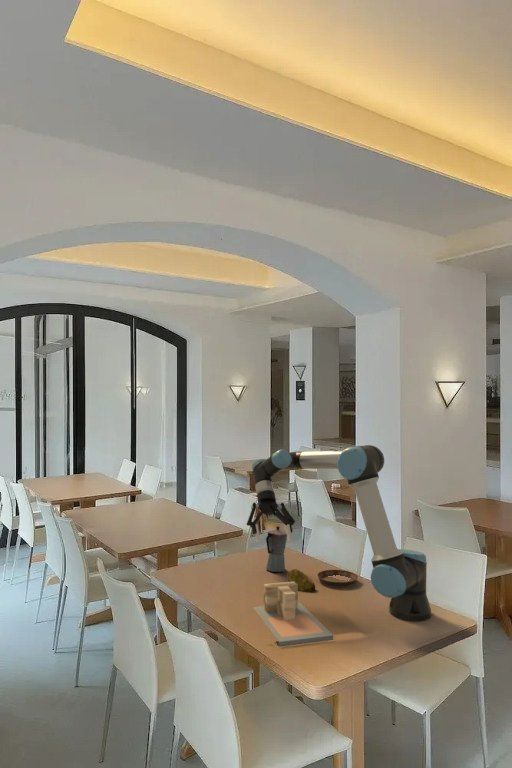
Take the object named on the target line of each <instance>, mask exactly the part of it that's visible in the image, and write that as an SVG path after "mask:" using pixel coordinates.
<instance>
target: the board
mask: <svg viewBox="0 0 512 768" xmlns="http://www.w3.org/2000/svg"><path fill="white" fill-rule="evenodd" d="M263 608H264V605H260V606H252V609H253V610H254V611H255V612H256V613H257V615H258V616H259V618H260V620H262V622H263V623H264V624H265V626H266V627H267V628H268V629H269V631H270V632H271V634H272V635H273V636H274V638H276V641H275V644H277V646H278V647H286V646H287V647H288V646H295V645H303V644H312V643H320V642H327V641H333V640H334V634H332V632H331V631H330V630H328V628H326V627H325V625H324V624H323V623H321V622H320V620H318V619H317V617H315V616H314V615H313V614H312V612H311V611H310V610H308V609H307V607H306V606H304V605H303V604H302V603H301V602H299V601H298V610H295V619H291V620H284V619H283V618H282V617H281V615H280V614H279V613H278V612H269V613H267V612H266V611H265V610H264V609H263Z"/></svg>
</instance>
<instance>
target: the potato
mask: <svg viewBox="0 0 512 768" xmlns="http://www.w3.org/2000/svg"><path fill="white" fill-rule="evenodd" d="M286 579H287V580H286V581H287V582H295V583H296V584H297V585H298V591H301V592H306V593H307V592H308V593H309V592H310V593H312V592H315V591H316V584H315V582H314V581H313V580H312V579H311V578H310V577H309V576H308V575H307V574H305V573H304V572H303V571H302V570H300V569H297V568H295V569H292V570H289V571H288V572H287V574H286Z"/></svg>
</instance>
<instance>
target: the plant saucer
mask: <svg viewBox="0 0 512 768" xmlns="http://www.w3.org/2000/svg"><path fill="white" fill-rule="evenodd" d="M333 575H335V576H336V575H340V576H345V577H348V578H351V579H350V580H349V581H348V580H347V581H345V580H339V579H336V578H333V577H328V576H333ZM316 576H317V578H318V580H319V581H320V582H321V583H322V584H324V585H325V586H329V587H333V588H347V587H351V586H353V585H354V584H355V583H356V582H357V580H358V578H359V576H358V574H357V573H354V572H352V571H349V570H343V569H326V570H321V571H319V572H318V573H317V574H316Z"/></svg>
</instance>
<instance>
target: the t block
mask: <svg viewBox="0 0 512 768" xmlns="http://www.w3.org/2000/svg"><path fill="white" fill-rule="evenodd" d="M298 597H299V590H298V585H297V584H296V583H295V582H288V581H285V582H274V583H264V584H263V606H264V608H263V609H264V610H265V611H266V612H267V613H269V612H278V613H279V614H280V615H281V617H282V618H283V619H284V620H291V619H295V610H298V602H299V601H298V599H299V598H298Z"/></svg>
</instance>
